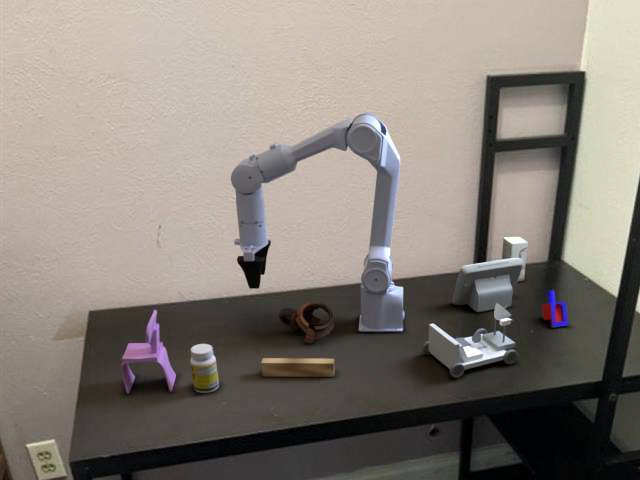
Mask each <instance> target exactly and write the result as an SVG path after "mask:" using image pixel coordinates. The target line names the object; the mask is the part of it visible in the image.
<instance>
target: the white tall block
mask: <svg viewBox="0 0 640 480" xmlns="http://www.w3.org/2000/svg"><path fill="white" fill-rule="evenodd" d="M502 240H503V241H502V250H501V251H502V252H501V260H503V259H510V258H521V259H522V260H523V267H522V270H521V273H520V276H519V279H518V281H517V283H518V282H525V274H526V263H527V253H528V244H529V243H528V241H527V240H526V239H524V238H522V237H521V236H519V235H518V236H508V237H503V238H502Z"/></svg>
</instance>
